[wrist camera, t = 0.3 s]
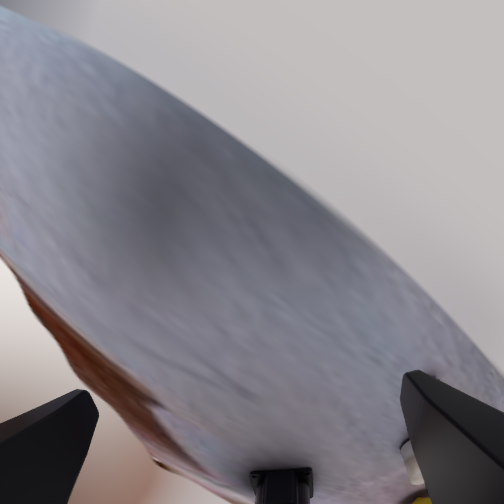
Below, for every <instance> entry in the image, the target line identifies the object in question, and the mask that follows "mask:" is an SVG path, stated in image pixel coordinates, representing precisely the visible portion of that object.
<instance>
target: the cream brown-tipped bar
mask: <svg viewBox="0 0 504 504" xmlns="http://www.w3.org/2000/svg"><path fill="white" fill-rule="evenodd" d="M438 380H439V379H438ZM401 454H402V457H403V460H404V463H405V466H406V469H407V472H408V475H409V478H410V481H411V484H413V485H419V484H423V483H425V482H424V480H423V477H422V474H421V471H420V469H419V466H418V463H417V461H416V458H415V455H414V452H413V450H412V446H411V442H410V440H409V441H408V442H406V443H405V444H404V445H403V446H402V448H401Z"/></svg>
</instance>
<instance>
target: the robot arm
mask: <svg viewBox="0 0 504 504" xmlns="http://www.w3.org/2000/svg"><path fill="white" fill-rule="evenodd" d="M400 402H401V407H402V411H403V414H404V418H405V422H406V426H407V430H408V434H409V438H410V442H411V446H412V450H413V452H414V455H415V458H416V461H417V463H418V466H419V469H420V471H421V474H422V477H423V480H424V482H425V485H426V488H427V491H428V494H429V497H430V500H431V503H432V504H504V412H502V411H500V410H498V409H496V408H494V407H492V406H489V405H487V404H485V403H483V402H481V401H479V400H477V399H475V398H473V397H471V396H469V395H467V394H465V393H463V392H461V391H459V390H457V389H455V388H453V387H452V386H450V385H448V384H446V383H444V382H442V381H440V380H438V379H436V378H434V377H432V376H430V375H428V374H426V373H424V372H422V371H420V370H414V371H410V372H406V373H405V374H404V375H403V379H402V388H401V395H400ZM98 418H99V412H98V409H97V407H96V405H95V403H94V401H93V399H92V397H91V395H90V393H89V392H88V391H86V390H79V389H76V390H74V391H72V392H69V393H67V394H65V395H63V396H61V397H59V398H56V399H54V400H52V401H50V402H48V403H46V404H43V405H41V406H39V407H37V408H35V409H32V410H30V411H28V412H26V413H23V414H21V415H19V416H17V417H14V418H12V419H10V420H7V421H5V422H3V423H0V504H68V501H69V498H70V496H71V493H72V491H73V488H74V485H75V483H76V480H77V478H78V476H79V473H80V470H81V468H82V466H83V463H84V461H85V458H86V456H87V453H88V450H89V447H90V443H91V440H92V437H93V434H94V431H95V427H96V424H97V421H98ZM249 477H250V481H251V484H252V487H253V490H254V493H255V496H256V497H255V504H310V498H312V497H313V474H312V469H310V468H305V469H294V470H279V471H253V472H250V475H249Z"/></svg>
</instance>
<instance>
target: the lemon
mask: <svg viewBox="0 0 504 504" xmlns="http://www.w3.org/2000/svg"><path fill="white" fill-rule="evenodd" d="M412 504H432V503H431V500H430V497H425V498H422V497H417V498H416V499H415V501H414V502H413V503H412Z"/></svg>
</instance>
